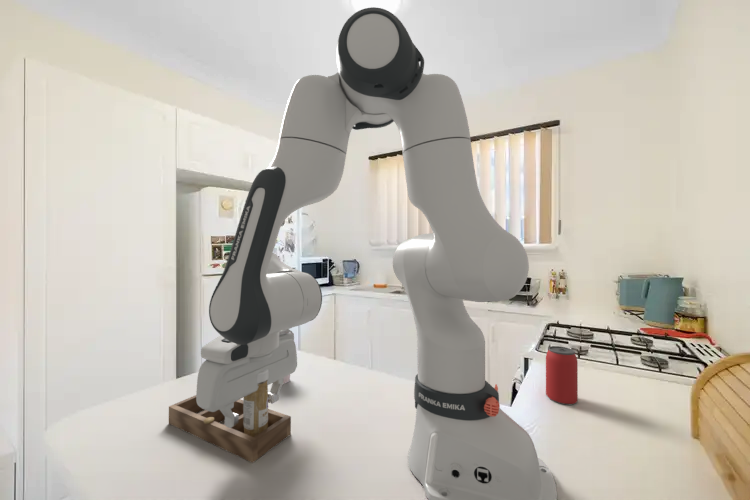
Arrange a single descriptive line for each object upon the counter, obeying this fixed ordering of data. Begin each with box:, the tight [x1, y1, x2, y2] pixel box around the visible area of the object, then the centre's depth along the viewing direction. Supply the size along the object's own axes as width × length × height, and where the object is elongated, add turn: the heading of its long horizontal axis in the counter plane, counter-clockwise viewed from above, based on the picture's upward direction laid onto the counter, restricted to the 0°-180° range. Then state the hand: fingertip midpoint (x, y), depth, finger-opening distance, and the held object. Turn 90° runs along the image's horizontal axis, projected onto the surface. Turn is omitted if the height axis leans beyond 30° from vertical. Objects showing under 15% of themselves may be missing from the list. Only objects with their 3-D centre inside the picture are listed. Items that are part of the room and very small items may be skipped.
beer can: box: [545, 345, 579, 406], centre depth 73 cm, size 7×7×12 cm
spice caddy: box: [168, 394, 292, 464], centre depth 61 cm, size 25×9×4 cm, turn 62°
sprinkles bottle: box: [242, 369, 269, 437], centre depth 57 cm, size 5×5×14 cm
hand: (253, 412), depth 57 cm, fingers open, 8 cm apart
